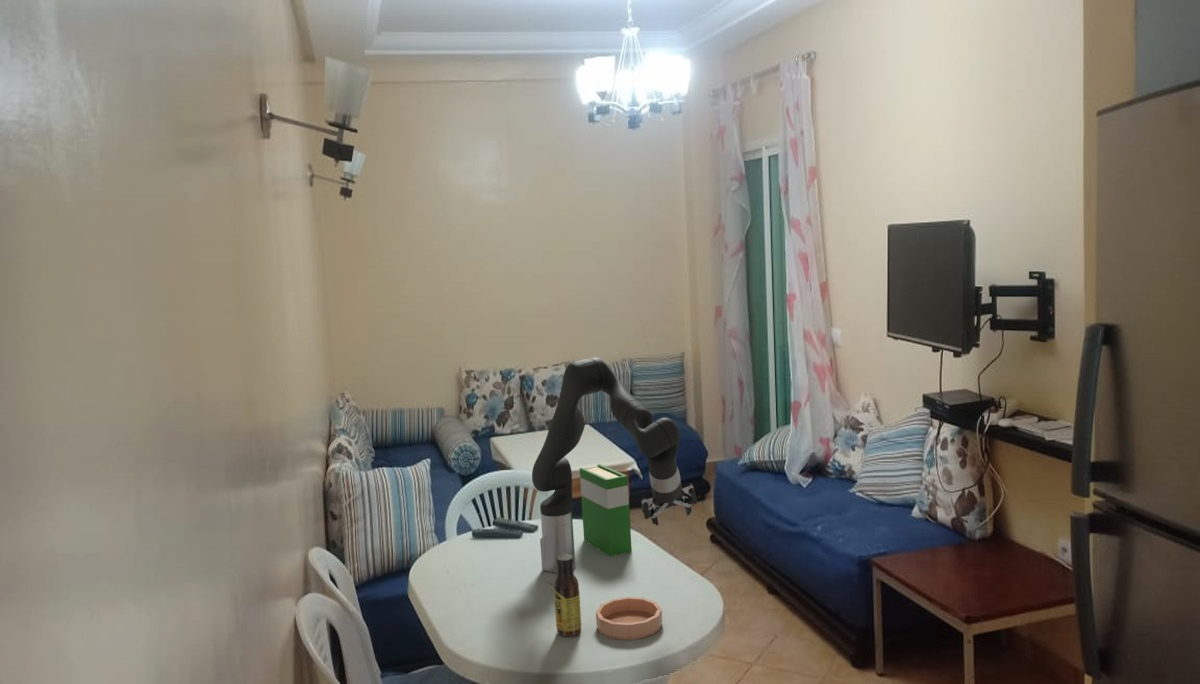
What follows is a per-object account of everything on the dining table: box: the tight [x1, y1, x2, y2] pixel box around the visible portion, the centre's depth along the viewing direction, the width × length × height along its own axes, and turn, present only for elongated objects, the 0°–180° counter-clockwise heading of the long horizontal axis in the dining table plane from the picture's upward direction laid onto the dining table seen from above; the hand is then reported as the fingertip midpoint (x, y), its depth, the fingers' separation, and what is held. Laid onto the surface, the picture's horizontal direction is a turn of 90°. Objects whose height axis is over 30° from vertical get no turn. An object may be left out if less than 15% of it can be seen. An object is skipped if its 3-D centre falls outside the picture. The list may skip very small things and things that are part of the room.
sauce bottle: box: [553, 554, 582, 637], centre depth 223 cm, size 6×6×20 cm
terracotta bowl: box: [595, 596, 663, 641], centre depth 226 cm, size 16×16×4 cm
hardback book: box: [579, 463, 633, 557], centre depth 283 cm, size 18×7×24 cm, turn 28°
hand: (671, 517), depth 236 cm, fingers open, 8 cm apart
